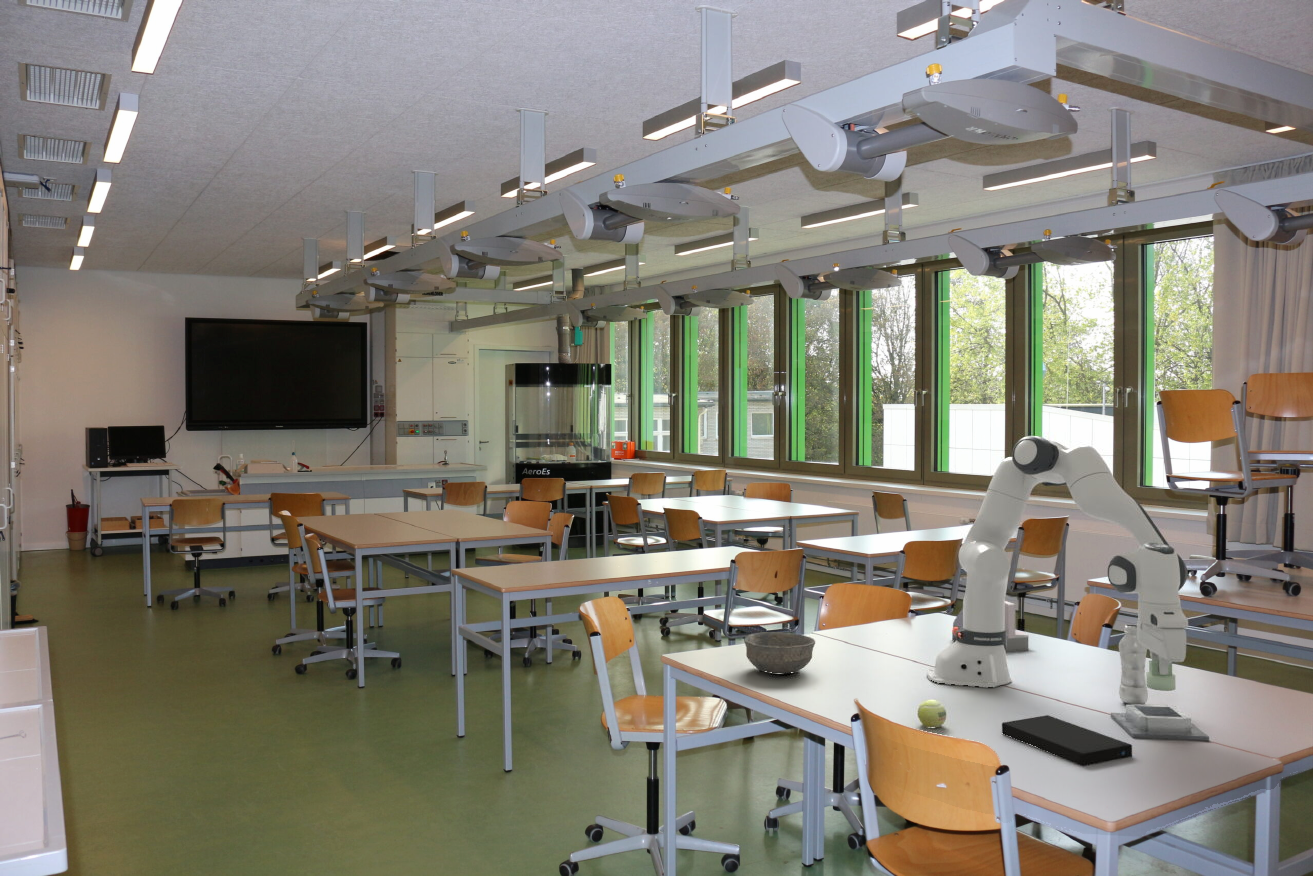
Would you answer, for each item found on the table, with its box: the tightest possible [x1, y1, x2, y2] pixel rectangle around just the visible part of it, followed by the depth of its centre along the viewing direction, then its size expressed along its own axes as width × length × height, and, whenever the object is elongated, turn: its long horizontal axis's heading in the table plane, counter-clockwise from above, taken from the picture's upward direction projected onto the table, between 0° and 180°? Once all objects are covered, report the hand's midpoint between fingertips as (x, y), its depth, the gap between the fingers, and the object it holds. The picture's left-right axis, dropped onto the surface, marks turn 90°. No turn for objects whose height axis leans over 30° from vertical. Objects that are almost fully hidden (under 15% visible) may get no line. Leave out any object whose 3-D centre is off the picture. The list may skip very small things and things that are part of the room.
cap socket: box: [1110, 703, 1210, 742], centre depth 222 cm, size 16×16×4 cm
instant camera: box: [951, 600, 1029, 652], centre depth 309 cm, size 21×21×15 cm
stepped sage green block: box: [1145, 660, 1177, 692], centre depth 222 cm, size 6×6×6 cm
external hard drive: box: [1001, 714, 1133, 767], centre depth 211 cm, size 14×23×3 cm, turn 23°
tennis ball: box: [917, 698, 947, 728], centre depth 225 cm, size 6×7×7 cm
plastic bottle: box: [1118, 623, 1149, 705], centre depth 241 cm, size 6×7×20 cm
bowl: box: [743, 631, 816, 674], centre depth 275 cm, size 21×21×10 cm
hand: (1160, 672), depth 222 cm, fingers closed on stepped sage green block
